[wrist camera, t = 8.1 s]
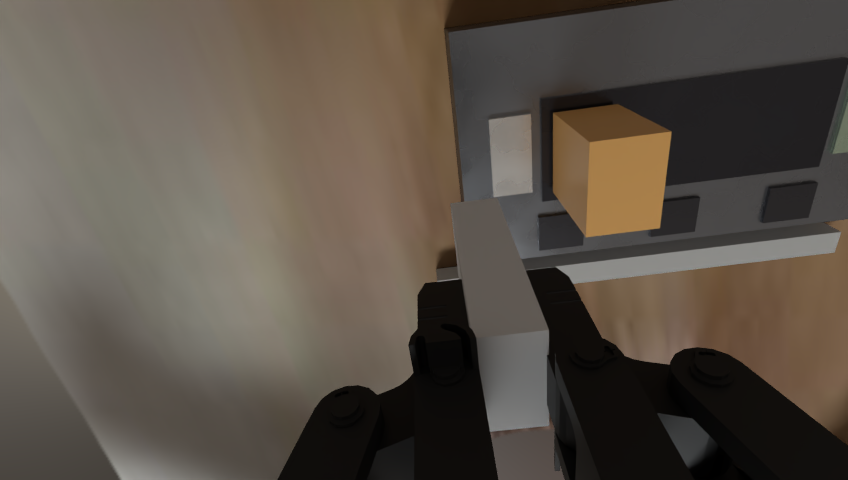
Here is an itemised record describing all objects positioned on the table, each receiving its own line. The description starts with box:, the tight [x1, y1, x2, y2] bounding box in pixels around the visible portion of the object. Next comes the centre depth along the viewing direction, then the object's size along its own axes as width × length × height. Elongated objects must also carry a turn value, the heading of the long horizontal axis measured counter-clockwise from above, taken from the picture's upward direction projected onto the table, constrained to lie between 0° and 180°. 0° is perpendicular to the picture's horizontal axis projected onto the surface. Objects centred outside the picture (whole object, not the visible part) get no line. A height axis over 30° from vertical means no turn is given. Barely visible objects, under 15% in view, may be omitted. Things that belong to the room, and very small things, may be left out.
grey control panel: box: [444, 0, 848, 259], centre depth 24 cm, size 22×12×3 cm, turn 97°
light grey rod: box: [436, 222, 841, 284], centre depth 29 cm, size 24×1×1 cm, turn 97°
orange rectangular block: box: [553, 104, 672, 237], centre depth 20 cm, size 3×4×5 cm
